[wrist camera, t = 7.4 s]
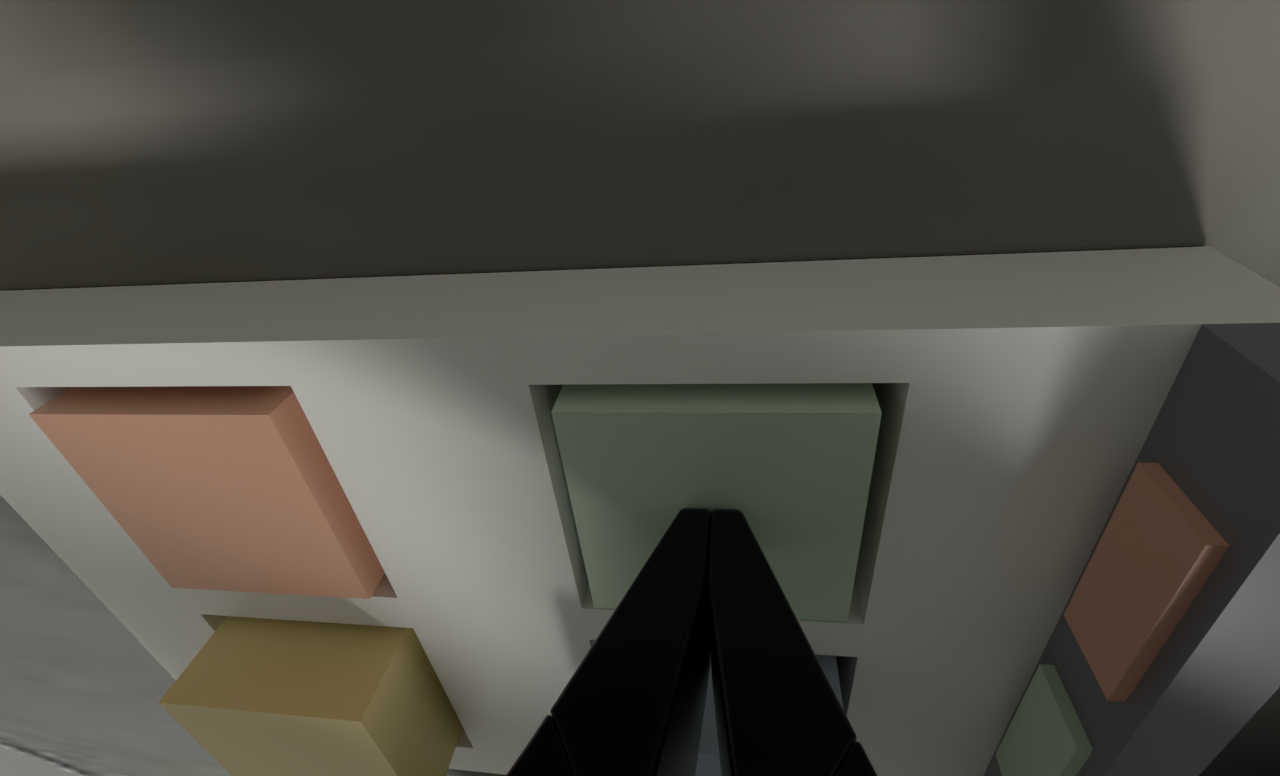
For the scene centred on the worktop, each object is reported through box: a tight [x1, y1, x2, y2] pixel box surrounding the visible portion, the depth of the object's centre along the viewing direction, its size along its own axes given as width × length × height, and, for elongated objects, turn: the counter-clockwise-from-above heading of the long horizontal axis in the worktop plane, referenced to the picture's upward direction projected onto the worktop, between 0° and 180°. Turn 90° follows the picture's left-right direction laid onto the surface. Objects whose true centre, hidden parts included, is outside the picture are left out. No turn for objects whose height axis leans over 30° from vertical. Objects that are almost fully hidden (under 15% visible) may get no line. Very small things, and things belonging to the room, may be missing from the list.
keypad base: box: [0, 246, 1280, 776], centre depth 11 cm, size 19×12×4 cm, turn 96°
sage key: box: [551, 383, 882, 622], centre depth 9 cm, size 4×4×2 cm
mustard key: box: [159, 616, 463, 776], centre depth 12 cm, size 4×4×2 cm
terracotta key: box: [29, 386, 385, 599], centre depth 10 cm, size 4×4×2 cm
